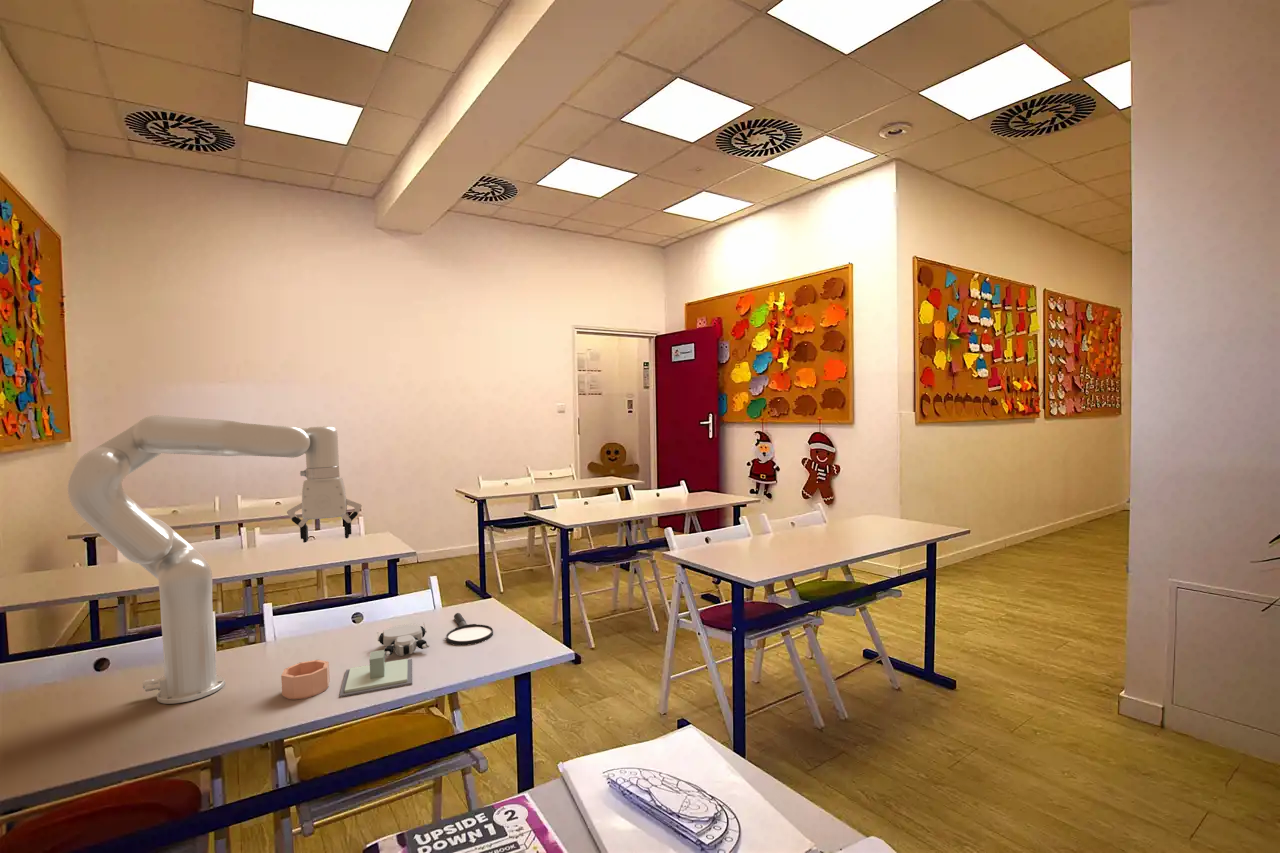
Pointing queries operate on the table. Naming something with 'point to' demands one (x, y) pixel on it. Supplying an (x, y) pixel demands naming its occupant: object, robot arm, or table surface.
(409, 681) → the mat
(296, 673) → the bowl
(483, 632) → the magnifying glass
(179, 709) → the table surface
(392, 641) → the robot toy
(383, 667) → the cover
